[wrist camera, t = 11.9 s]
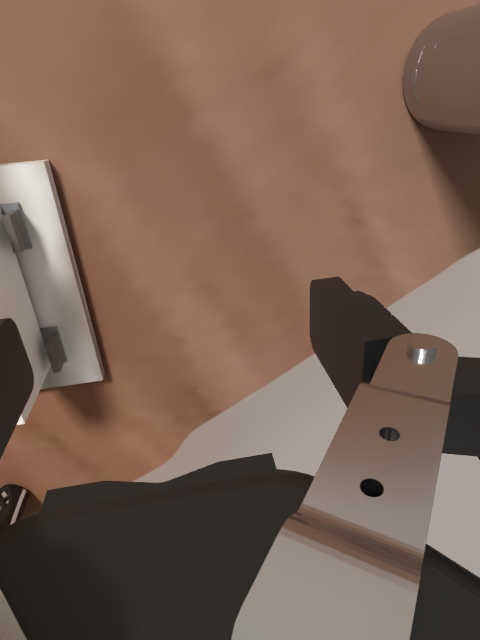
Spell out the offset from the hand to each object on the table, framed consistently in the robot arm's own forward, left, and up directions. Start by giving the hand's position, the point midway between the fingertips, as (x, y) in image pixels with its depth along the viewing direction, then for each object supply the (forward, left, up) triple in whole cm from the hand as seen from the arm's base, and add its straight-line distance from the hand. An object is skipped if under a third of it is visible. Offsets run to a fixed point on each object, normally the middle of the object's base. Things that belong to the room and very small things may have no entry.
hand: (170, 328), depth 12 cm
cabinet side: (+16, +9, -30) cm, 35 cm away
